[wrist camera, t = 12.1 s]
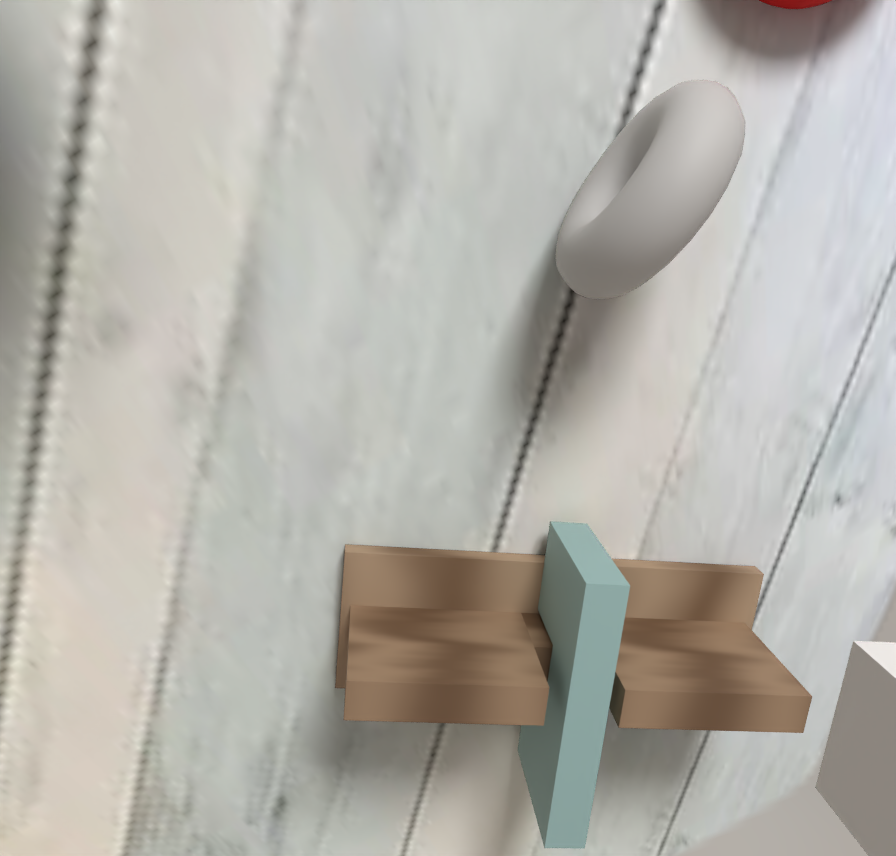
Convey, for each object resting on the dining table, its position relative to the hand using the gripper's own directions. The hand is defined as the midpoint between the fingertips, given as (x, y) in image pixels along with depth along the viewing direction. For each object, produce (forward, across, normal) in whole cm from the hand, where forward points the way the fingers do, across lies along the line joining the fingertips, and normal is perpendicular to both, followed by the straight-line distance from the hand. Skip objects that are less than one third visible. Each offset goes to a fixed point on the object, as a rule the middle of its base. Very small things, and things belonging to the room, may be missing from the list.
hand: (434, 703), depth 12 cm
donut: (+29, +10, +9) cm, 32 cm away
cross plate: (+27, +10, -15) cm, 33 cm away
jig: (+28, +10, -14) cm, 33 cm away
